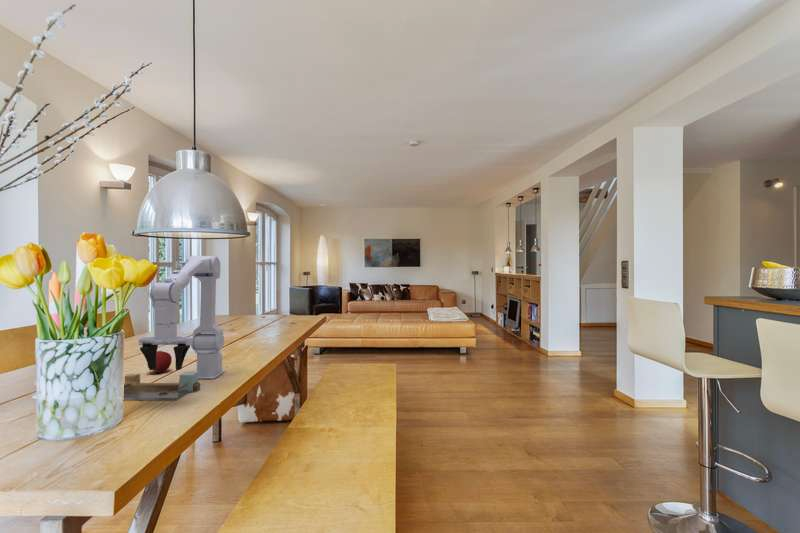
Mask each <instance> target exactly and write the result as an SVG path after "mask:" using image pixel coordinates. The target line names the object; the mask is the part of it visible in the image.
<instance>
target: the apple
mask: <svg viewBox="0 0 800 533" xmlns="http://www.w3.org/2000/svg"><path fill="white" fill-rule="evenodd" d="M172 362H173V361H172V355H171V354H170V353H169V352H166V351H162V350H157V353H156V368H155V369H153V370H152V371H154V372H157V373H159V374H161V373H165V372H166V371H168V370H169V368H170V367H171V364H172ZM146 363H147V362H146ZM147 368H148V369H149V367H148V363H147Z"/></svg>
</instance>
